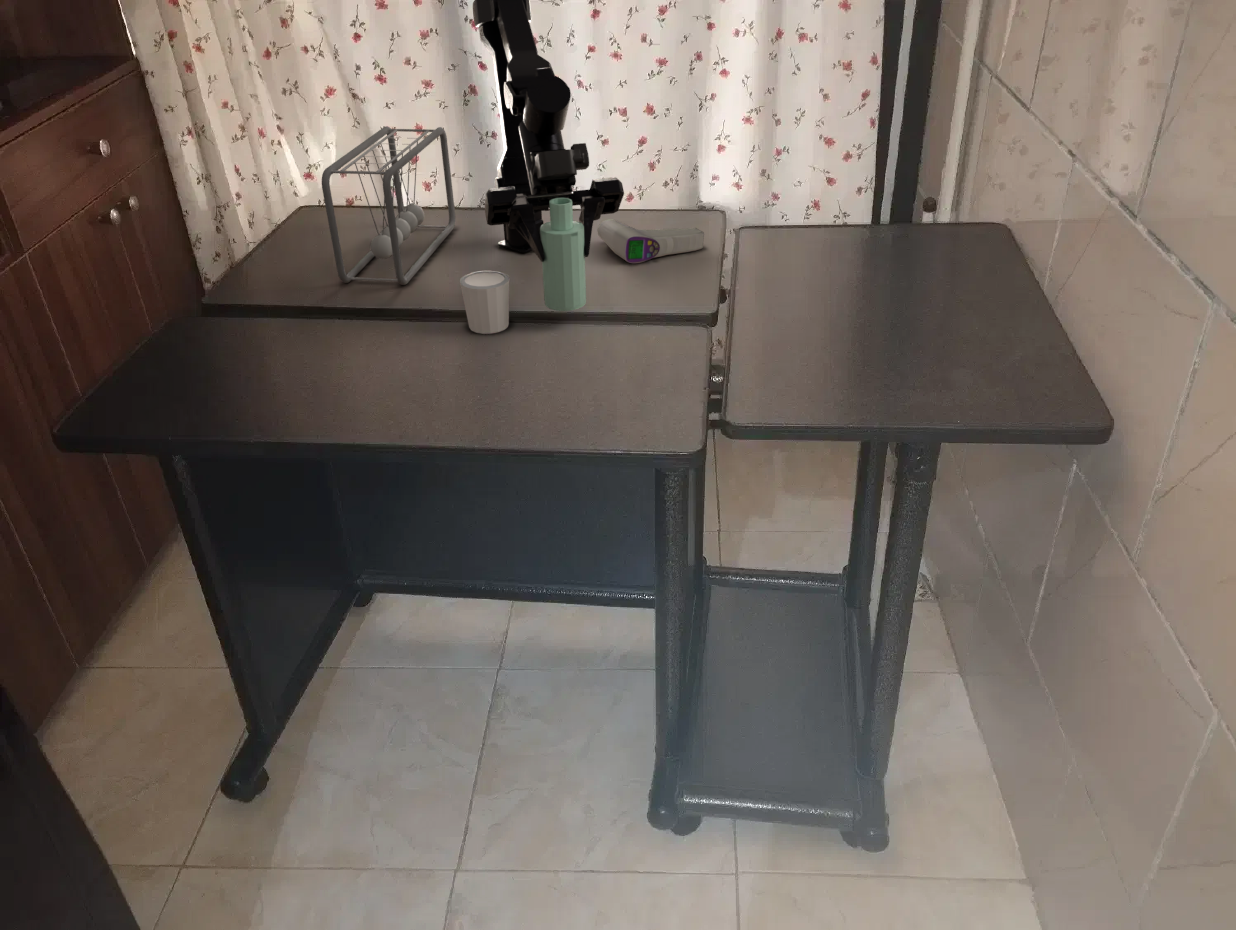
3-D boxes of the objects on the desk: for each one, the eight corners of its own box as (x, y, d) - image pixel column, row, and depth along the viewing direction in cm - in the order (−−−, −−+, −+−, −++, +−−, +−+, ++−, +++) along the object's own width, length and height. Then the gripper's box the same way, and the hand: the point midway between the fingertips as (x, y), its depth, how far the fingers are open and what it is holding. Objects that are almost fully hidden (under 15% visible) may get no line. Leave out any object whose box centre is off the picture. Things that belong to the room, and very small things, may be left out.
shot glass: (504, 337, 132) (500, 289, 129) (457, 333, 134) (452, 286, 130) (519, 317, 138) (515, 271, 134) (473, 314, 139) (469, 268, 135)
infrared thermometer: (706, 256, 160) (627, 266, 154) (669, 234, 169) (593, 243, 163) (708, 229, 158) (628, 238, 152) (671, 209, 167) (594, 217, 161)
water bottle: (536, 301, 135) (530, 200, 128) (570, 291, 138) (566, 191, 130) (559, 314, 132) (554, 211, 124) (594, 304, 134) (591, 202, 127)
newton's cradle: (403, 290, 147) (387, 173, 138) (339, 287, 149) (317, 172, 139) (457, 226, 172) (446, 124, 163) (401, 224, 174) (387, 123, 164)
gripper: (479, 127, 123) (500, 238, 120) (619, 116, 127) (642, 224, 124) (477, 172, 134) (495, 275, 131) (606, 160, 138) (627, 260, 135)
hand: (565, 258), depth 130 cm, fingers closed on water bottle, 6 cm apart
